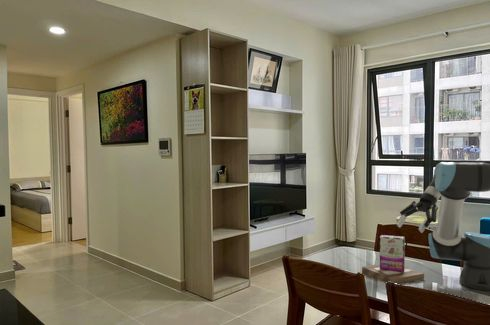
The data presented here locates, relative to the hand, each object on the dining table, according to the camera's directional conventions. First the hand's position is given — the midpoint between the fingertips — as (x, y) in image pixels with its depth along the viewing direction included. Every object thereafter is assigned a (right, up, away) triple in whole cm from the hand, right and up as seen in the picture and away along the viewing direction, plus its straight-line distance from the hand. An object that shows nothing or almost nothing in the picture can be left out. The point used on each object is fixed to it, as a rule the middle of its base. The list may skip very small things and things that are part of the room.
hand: (408, 228), depth 184 cm
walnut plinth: (-10, -23, -4) cm, 25 cm away
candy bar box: (-10, -20, -4) cm, 23 cm away
